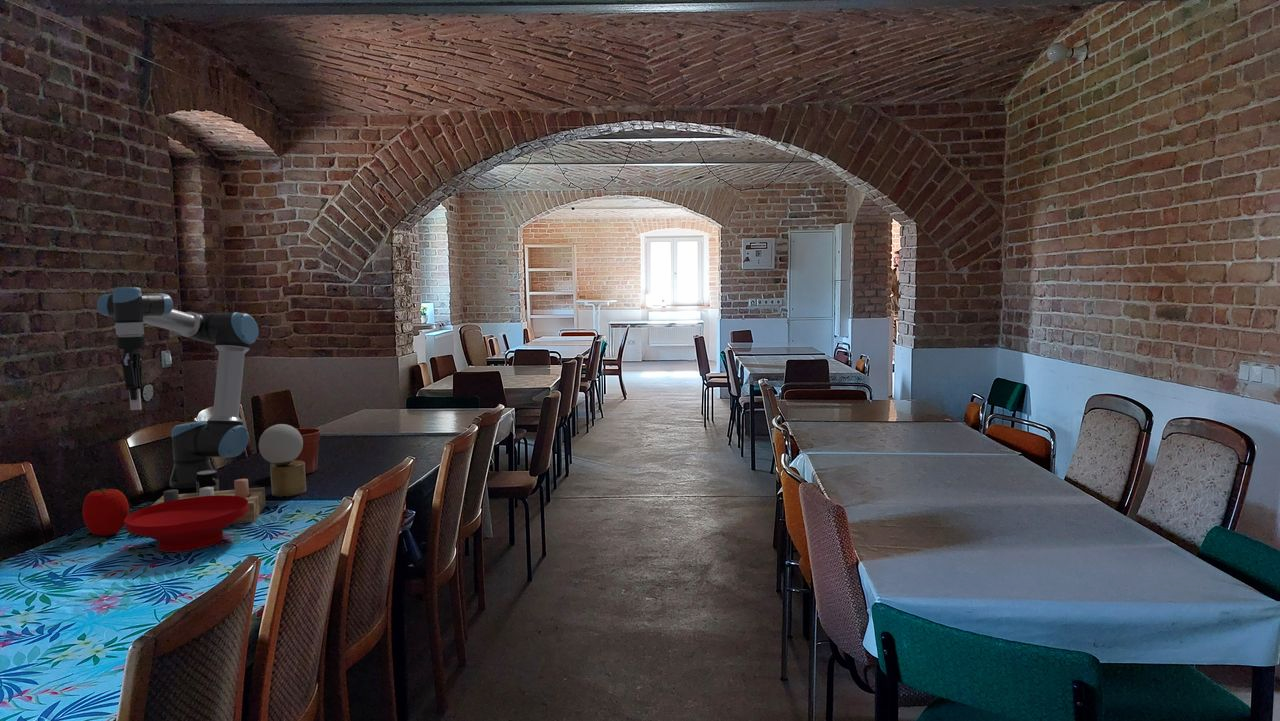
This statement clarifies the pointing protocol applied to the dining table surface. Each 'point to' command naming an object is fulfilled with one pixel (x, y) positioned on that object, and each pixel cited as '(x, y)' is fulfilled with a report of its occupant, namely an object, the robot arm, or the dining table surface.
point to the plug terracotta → (241, 488)
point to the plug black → (170, 495)
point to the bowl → (187, 521)
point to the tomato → (105, 511)
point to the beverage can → (207, 480)
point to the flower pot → (309, 448)
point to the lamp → (284, 459)
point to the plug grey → (206, 491)
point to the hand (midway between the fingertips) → (136, 409)
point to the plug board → (254, 500)
